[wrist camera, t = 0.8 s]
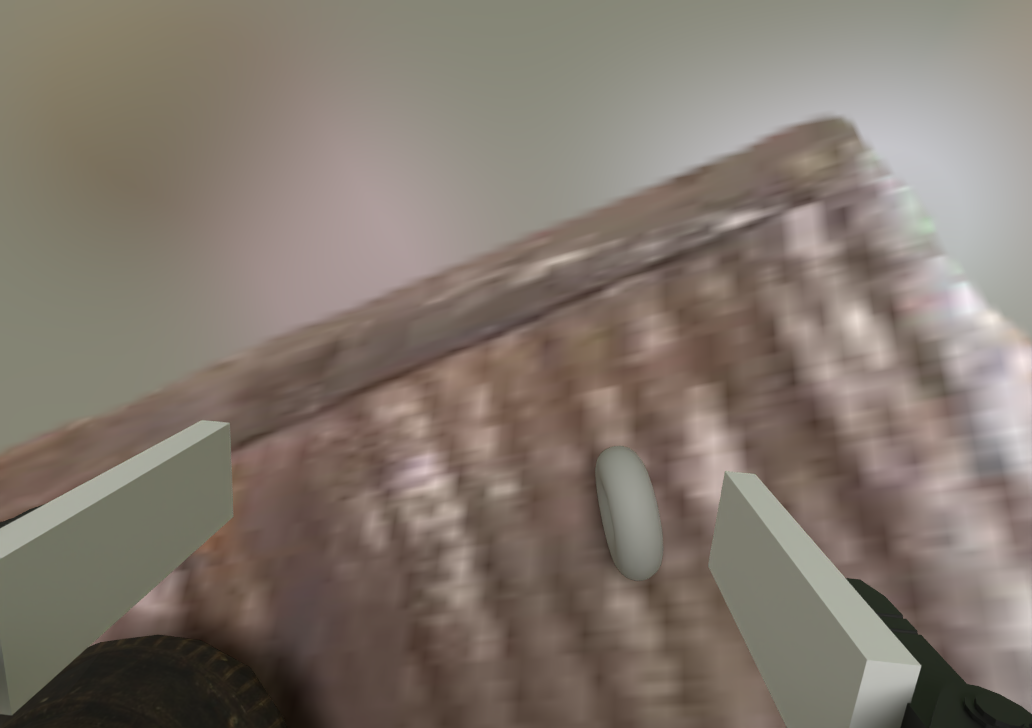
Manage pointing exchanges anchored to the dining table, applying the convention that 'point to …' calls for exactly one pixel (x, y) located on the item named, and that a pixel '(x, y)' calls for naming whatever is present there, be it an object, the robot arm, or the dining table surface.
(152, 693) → the ceramic pot
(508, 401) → the dining table surface
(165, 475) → the robot arm
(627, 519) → the donut
